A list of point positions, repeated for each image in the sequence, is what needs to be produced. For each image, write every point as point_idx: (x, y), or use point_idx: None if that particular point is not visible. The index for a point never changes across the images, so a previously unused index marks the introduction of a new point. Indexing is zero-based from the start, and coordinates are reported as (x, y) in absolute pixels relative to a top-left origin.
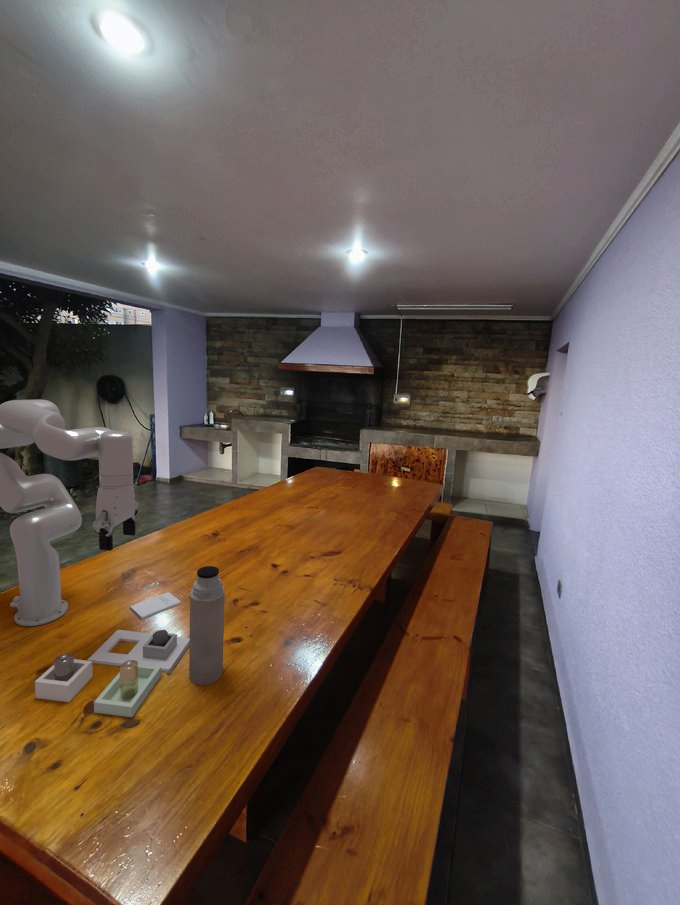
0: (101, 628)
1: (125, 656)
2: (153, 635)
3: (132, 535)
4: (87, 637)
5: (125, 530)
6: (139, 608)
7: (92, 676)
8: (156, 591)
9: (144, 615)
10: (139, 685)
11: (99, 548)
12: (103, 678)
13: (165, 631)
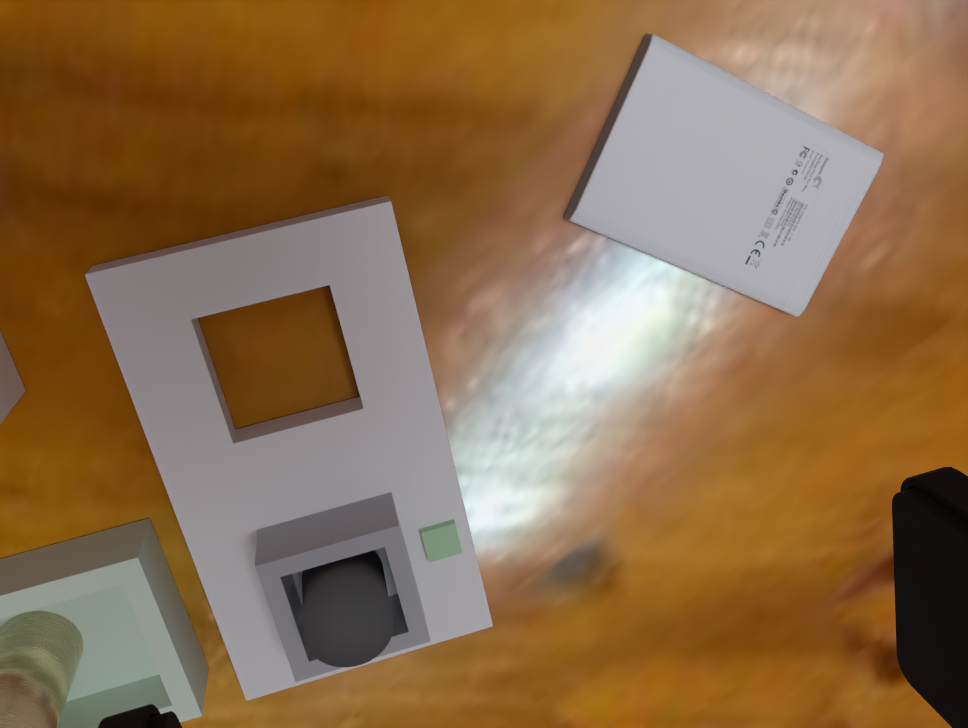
0: (393, 35)
1: (215, 446)
2: (322, 605)
3: (897, 656)
4: (279, 28)
5: (963, 586)
6: (650, 127)
7: (18, 397)
8: (886, 46)
9: (593, 221)
10: (103, 645)
11: (100, 724)
12: (62, 432)
13: (385, 633)
